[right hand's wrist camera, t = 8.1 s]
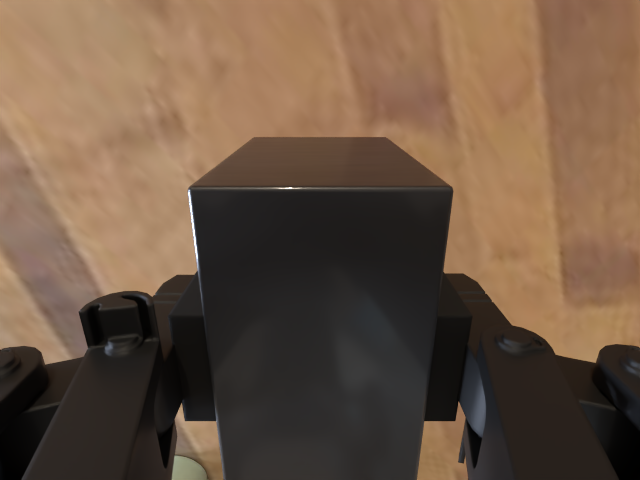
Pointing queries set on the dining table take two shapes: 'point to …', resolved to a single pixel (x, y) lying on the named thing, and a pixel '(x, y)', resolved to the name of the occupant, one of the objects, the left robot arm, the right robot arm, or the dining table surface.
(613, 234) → the dining table surface
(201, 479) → the mint green cylinder
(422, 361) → the plank
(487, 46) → the dining table surface
